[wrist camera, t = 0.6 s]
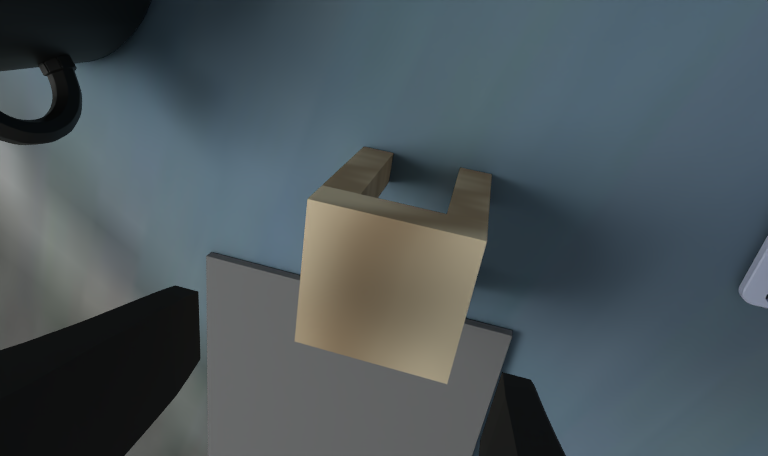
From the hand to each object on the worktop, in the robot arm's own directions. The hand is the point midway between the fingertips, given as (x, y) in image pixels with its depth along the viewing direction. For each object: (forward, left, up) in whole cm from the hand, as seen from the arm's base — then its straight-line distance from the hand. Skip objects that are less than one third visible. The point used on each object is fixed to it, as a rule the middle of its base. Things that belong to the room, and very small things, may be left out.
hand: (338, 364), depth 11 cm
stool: (0, 0, -9) cm, 9 cm away
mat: (+2, +11, -9) cm, 15 cm away
